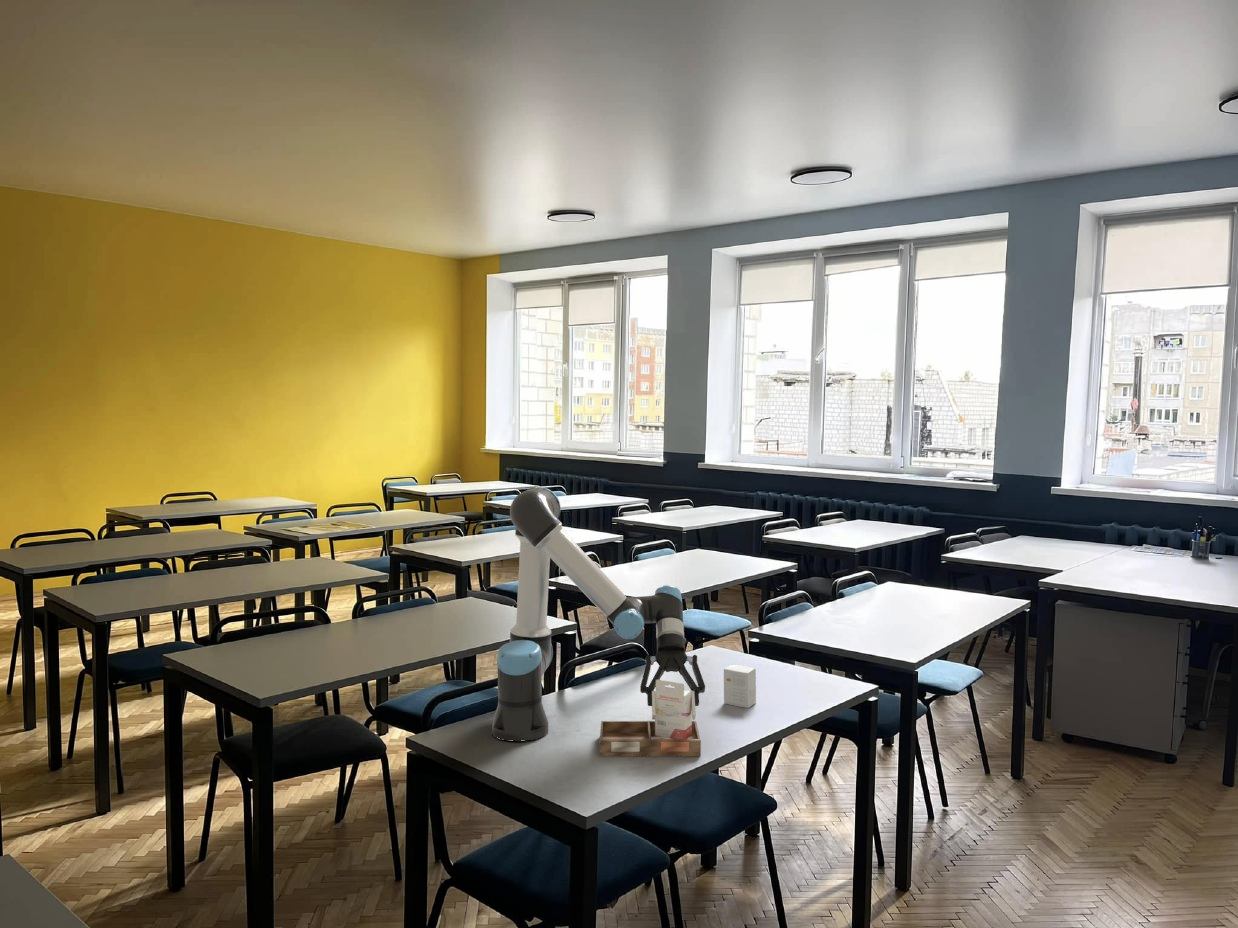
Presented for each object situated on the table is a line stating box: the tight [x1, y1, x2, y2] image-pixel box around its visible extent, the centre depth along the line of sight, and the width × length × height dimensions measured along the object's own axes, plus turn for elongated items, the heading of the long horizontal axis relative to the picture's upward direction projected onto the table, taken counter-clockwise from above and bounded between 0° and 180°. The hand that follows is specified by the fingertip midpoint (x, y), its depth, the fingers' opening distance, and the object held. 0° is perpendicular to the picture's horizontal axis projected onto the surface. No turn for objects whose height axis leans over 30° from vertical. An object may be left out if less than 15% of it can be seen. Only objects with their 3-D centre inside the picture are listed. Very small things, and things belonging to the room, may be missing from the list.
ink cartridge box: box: [654, 679, 693, 739], centre depth 215 cm, size 9×5×15 cm, turn 62°
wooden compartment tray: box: [599, 720, 702, 757], centre depth 215 cm, size 25×14×4 cm, turn 90°
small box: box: [723, 664, 757, 709], centre depth 247 cm, size 8×6×10 cm
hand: (673, 717), depth 212 cm, fingers closed on ink cartridge box, 9 cm apart
